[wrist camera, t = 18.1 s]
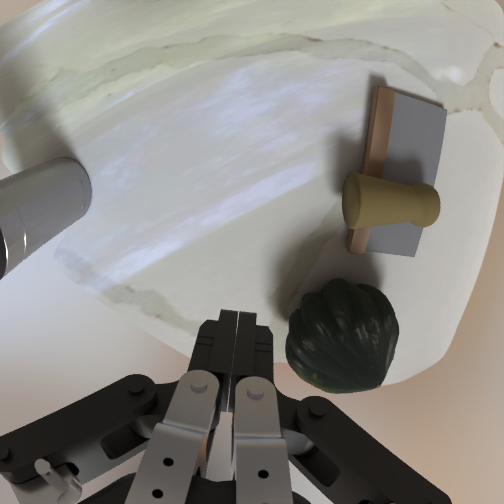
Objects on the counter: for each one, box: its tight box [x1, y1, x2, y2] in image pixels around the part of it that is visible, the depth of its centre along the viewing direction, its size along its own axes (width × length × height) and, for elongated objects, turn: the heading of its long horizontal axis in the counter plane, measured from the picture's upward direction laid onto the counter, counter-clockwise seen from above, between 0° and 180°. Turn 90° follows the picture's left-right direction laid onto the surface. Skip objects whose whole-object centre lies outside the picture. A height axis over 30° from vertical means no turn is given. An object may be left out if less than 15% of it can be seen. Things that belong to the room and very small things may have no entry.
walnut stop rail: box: [346, 86, 395, 254], centre depth 33 cm, size 2×20×2 cm, turn 174°
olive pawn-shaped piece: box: [342, 172, 440, 229], centre depth 32 cm, size 6×6×11 cm
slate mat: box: [365, 92, 447, 257], centre depth 33 cm, size 8×20×1 cm, turn 174°
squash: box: [285, 279, 399, 394], centre depth 37 cm, size 14×15×15 cm
